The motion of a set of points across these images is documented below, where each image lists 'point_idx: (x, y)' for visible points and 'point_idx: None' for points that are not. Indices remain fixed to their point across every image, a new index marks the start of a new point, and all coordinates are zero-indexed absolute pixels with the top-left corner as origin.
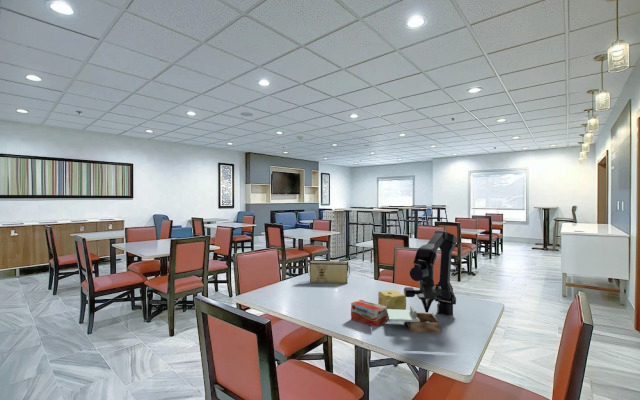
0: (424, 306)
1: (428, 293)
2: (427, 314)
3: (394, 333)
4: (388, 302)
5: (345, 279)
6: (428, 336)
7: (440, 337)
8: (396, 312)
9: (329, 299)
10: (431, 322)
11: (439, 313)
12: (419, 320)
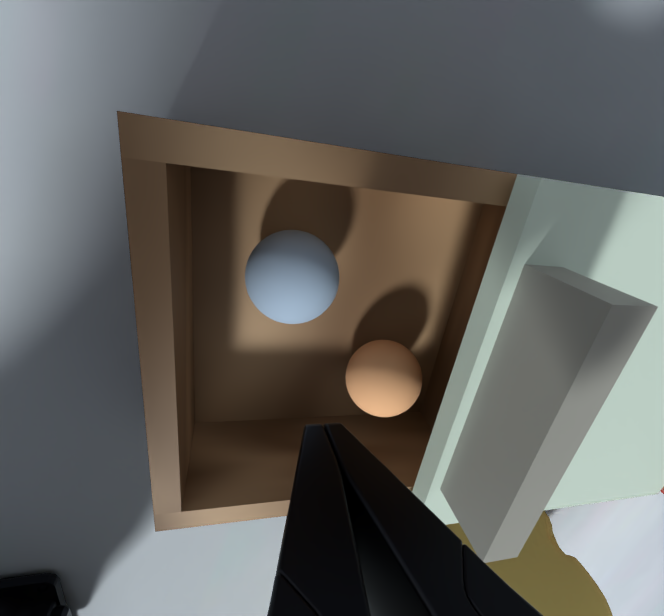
0: (434, 521)
1: None
2: (238, 494)
3: (628, 186)
4: (600, 603)
5: None
6: (336, 89)
7: (180, 41)
8: (634, 431)
9: (656, 599)
10: (195, 423)
11: (55, 611)
12: (366, 372)
